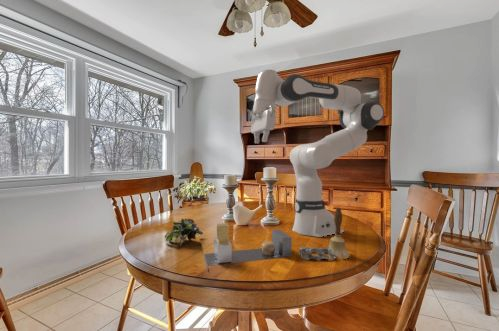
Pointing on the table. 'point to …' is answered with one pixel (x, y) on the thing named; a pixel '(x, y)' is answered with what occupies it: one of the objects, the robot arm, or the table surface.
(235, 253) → the press base
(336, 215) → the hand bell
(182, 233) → the passion flower
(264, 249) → the hazelnut
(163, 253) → the table surface
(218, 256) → the block
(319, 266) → the table surface
